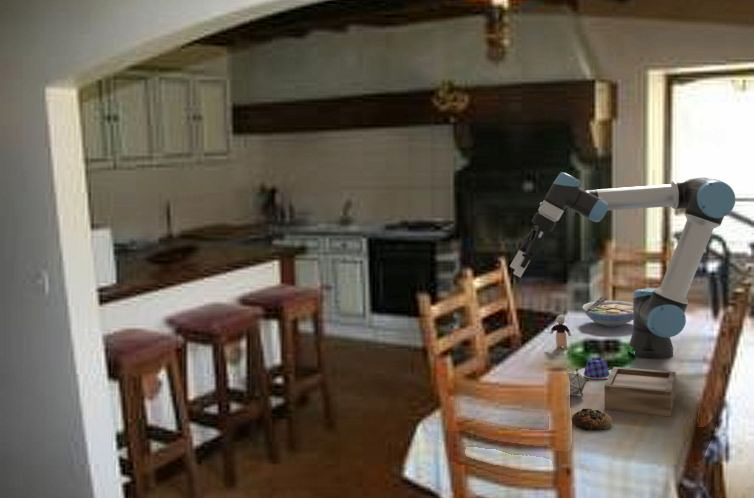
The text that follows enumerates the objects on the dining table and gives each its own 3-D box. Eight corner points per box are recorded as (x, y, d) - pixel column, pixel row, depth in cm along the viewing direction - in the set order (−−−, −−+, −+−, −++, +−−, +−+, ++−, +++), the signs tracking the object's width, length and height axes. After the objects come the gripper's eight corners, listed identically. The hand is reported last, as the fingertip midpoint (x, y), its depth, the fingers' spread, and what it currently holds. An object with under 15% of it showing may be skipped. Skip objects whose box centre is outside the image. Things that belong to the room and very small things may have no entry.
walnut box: (613, 388, 241) (613, 366, 240) (675, 394, 234) (675, 371, 232) (604, 409, 225) (604, 385, 224) (670, 416, 217) (670, 391, 216)
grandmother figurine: (571, 347, 286) (571, 314, 284) (571, 350, 283) (570, 316, 280) (550, 346, 289) (550, 313, 287) (549, 349, 285) (549, 315, 283)
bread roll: (568, 428, 213) (569, 410, 212) (574, 419, 223) (575, 402, 223) (609, 435, 208) (610, 416, 208) (614, 425, 218) (615, 407, 218)
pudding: (601, 367, 263) (600, 352, 262) (623, 377, 252) (623, 361, 251) (570, 372, 259) (570, 357, 259) (591, 383, 248) (591, 367, 247)
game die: (578, 408, 237) (590, 389, 230) (551, 398, 238) (562, 379, 231) (582, 386, 243) (593, 367, 236) (556, 376, 244) (566, 357, 237)
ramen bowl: (631, 335, 297) (631, 314, 296) (573, 329, 309) (573, 309, 308) (648, 320, 317) (648, 300, 316) (593, 315, 330) (593, 296, 329)
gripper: (532, 207, 268) (502, 260, 272) (541, 215, 244) (507, 273, 248) (551, 218, 268) (521, 270, 272) (562, 226, 244) (528, 284, 247)
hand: (514, 271), depth 260 cm, fingers open, 13 cm apart
